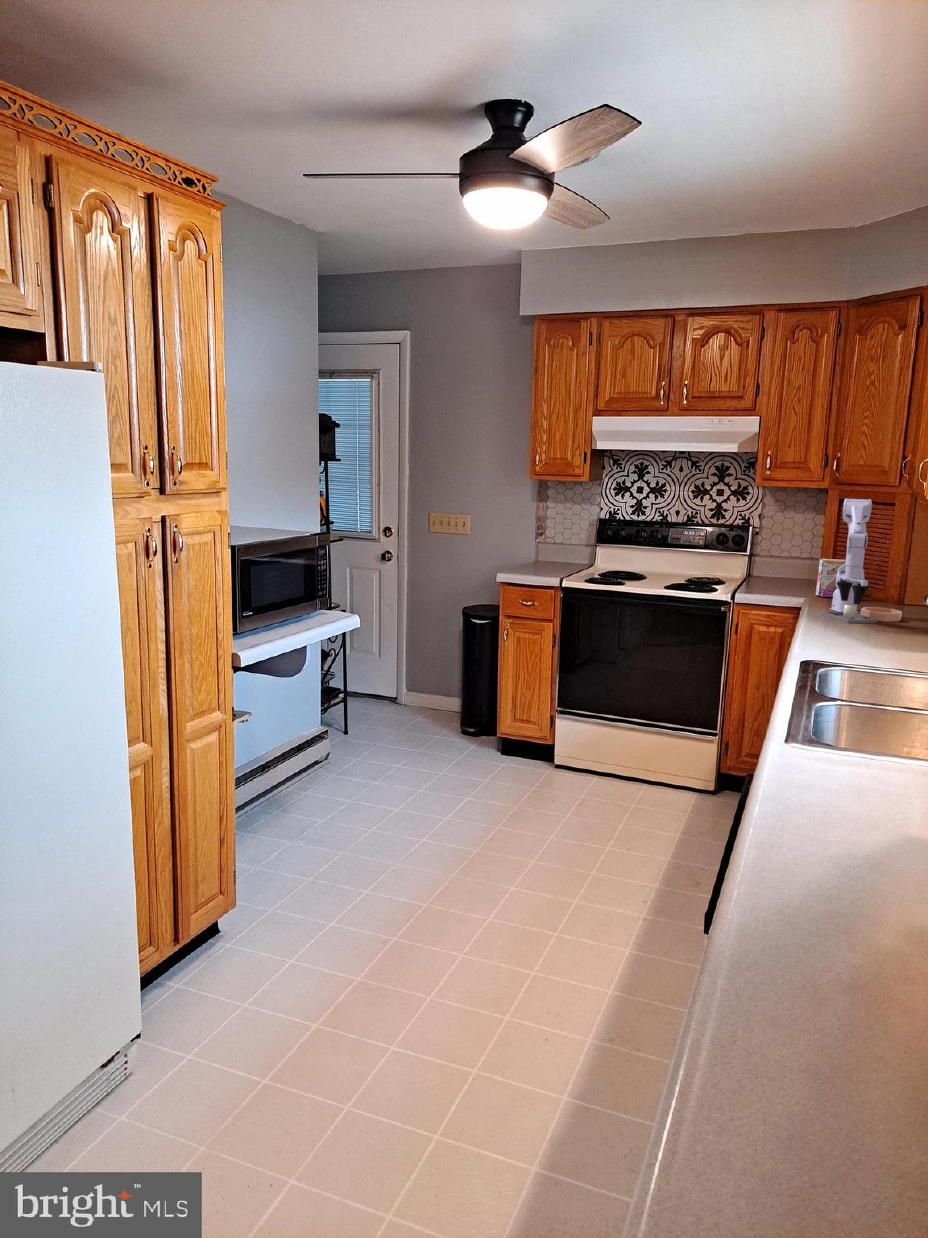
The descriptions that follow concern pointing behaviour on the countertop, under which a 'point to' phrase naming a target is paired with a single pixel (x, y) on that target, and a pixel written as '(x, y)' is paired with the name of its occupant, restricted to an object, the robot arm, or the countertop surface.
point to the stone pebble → (849, 611)
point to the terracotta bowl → (882, 613)
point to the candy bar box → (828, 576)
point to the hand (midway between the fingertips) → (850, 602)
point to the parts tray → (857, 619)
